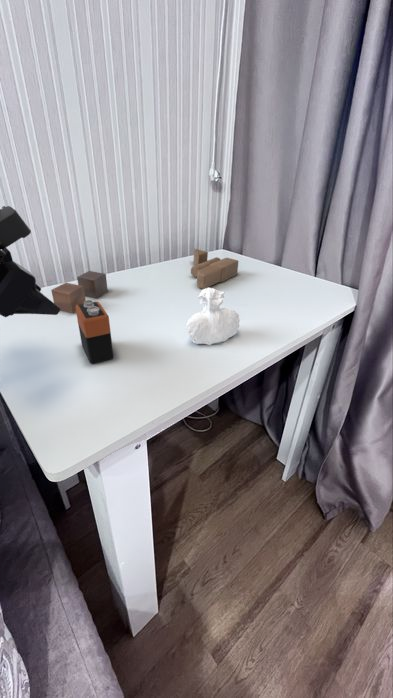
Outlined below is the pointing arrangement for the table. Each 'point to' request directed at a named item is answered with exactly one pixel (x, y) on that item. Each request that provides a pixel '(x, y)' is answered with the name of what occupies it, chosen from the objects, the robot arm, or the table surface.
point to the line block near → (68, 297)
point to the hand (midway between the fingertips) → (48, 300)
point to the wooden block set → (212, 269)
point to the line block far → (93, 284)
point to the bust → (212, 320)
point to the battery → (94, 331)
